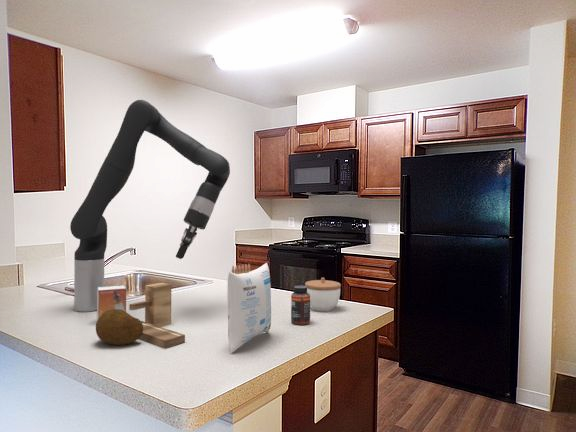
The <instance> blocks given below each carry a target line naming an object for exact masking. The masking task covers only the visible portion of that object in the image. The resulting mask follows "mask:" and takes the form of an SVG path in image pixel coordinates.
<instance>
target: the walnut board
mask: <svg viewBox="0 0 576 432" xmlns="http://www.w3.org/2000/svg"><path fill="white" fill-rule="evenodd" d="M140 321H141V322H142V325H143V333H142V335H141V336H140V337H139V338H138V339H137V340H141V341H144V342H147V343H150V344H152V345H154V346H157V347H159V348H163V349H165V350H166V349H168V348H172V347H175V346H178V345H181V344H185V343H186V334H185V333H184V334H183V333H181V332H177V331H174V330H171V329H168V328H165V327H163V326H161V327H159V326H156V325H153V324H150V323H146V322H145V321H143V320H140Z"/></svg>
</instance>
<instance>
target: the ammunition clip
mask: <svg viewBox="0 0 576 432" xmlns="http://www.w3.org/2000/svg"><path fill="white" fill-rule="evenodd" d="M244 265H245V266H244ZM251 271H252V270H251V264H250V263H248V265H247V263H245V264H242V265H240V264H238V265H237V264H235V267H234V265H232V267H231V272H232V273H235V274H242V273H249V272H251Z"/></svg>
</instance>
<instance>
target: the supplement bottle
mask: <svg viewBox="0 0 576 432" xmlns="http://www.w3.org/2000/svg"><path fill="white" fill-rule="evenodd" d="M293 290H294V291H293V292H292V293H291V296H290V299H291V300H290V304H291V305H290V307H291V309H290V321H291V323H292V324H294V325H297V326H304V325H308V324H309V323H311V306H310V294H309V293H307V286H305V285H295V286H294V289H293Z"/></svg>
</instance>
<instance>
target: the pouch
mask: <svg viewBox="0 0 576 432" xmlns="http://www.w3.org/2000/svg"><path fill="white" fill-rule="evenodd" d="M271 288H272V285H271V274H270V268H269V265H268V262H265V263H263V264H262V265H261V266H260V267H258V268H256V269H252V270H251V272H249V273H242V274H235V273H232V271H229V272H228V276H227V312H228V313H227V327H228V328H227V329H228V332H227V333H228V346H229V352H230V354H233V353H234V352H235V351H236V350H238V349H240V347H242V346H243V345H244V344H246V343H247V342H249V341H250V340H252V339H253V338H254V337H256V336H258V335H261V334H263V333H269V332H270V330H271V326H272V325H271V324H272V291H271V290H272V289H271Z"/></svg>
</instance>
